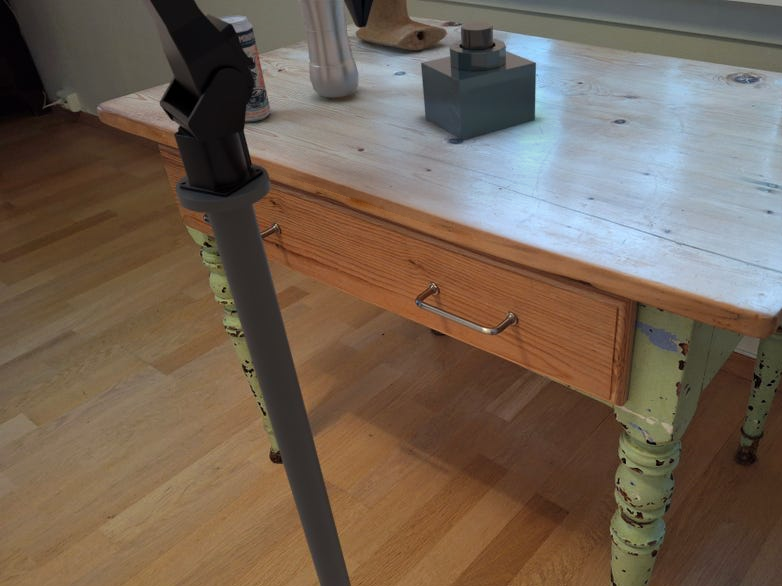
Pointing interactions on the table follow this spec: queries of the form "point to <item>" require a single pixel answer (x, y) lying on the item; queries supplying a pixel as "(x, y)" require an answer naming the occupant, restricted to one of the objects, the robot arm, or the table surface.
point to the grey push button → (477, 36)
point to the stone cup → (397, 27)
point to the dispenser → (479, 90)
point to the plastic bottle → (329, 48)
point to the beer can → (251, 68)
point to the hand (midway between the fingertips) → (360, 26)
